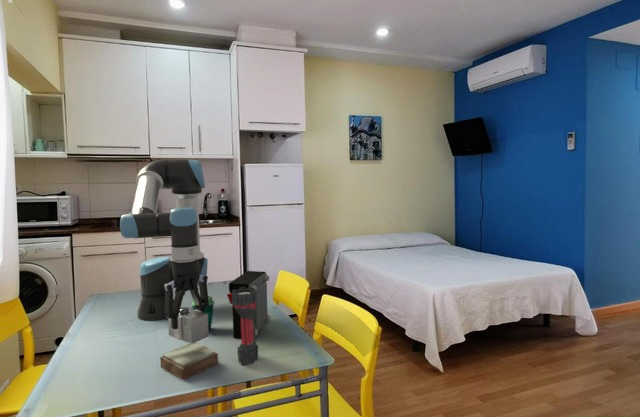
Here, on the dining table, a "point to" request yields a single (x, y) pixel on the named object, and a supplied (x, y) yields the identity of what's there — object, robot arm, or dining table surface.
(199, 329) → the housing
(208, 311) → the cup
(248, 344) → the flashlight
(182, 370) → the stand
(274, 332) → the dining table surface
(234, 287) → the electrical component
